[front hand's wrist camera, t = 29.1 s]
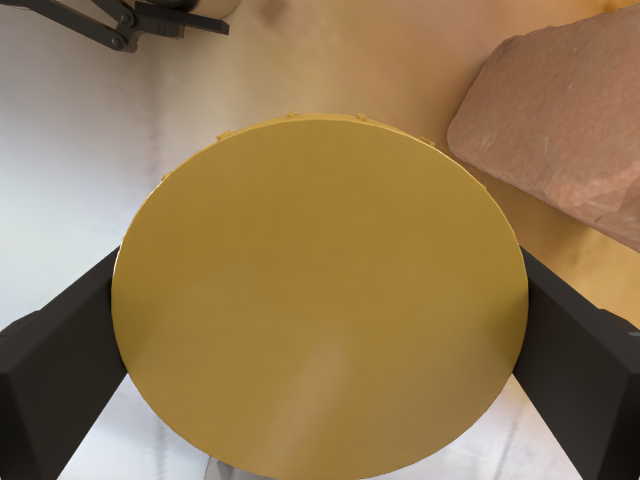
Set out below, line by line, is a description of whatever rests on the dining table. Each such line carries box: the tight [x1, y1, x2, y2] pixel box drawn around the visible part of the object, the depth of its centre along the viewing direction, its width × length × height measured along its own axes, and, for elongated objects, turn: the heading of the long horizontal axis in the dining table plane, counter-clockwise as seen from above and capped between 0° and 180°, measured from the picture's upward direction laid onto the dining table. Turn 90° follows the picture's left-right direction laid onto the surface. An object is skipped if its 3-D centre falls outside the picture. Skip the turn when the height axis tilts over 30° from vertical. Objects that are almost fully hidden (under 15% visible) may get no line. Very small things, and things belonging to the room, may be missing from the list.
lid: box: [111, 111, 529, 480], centre depth 11 cm, size 10×10×2 cm
